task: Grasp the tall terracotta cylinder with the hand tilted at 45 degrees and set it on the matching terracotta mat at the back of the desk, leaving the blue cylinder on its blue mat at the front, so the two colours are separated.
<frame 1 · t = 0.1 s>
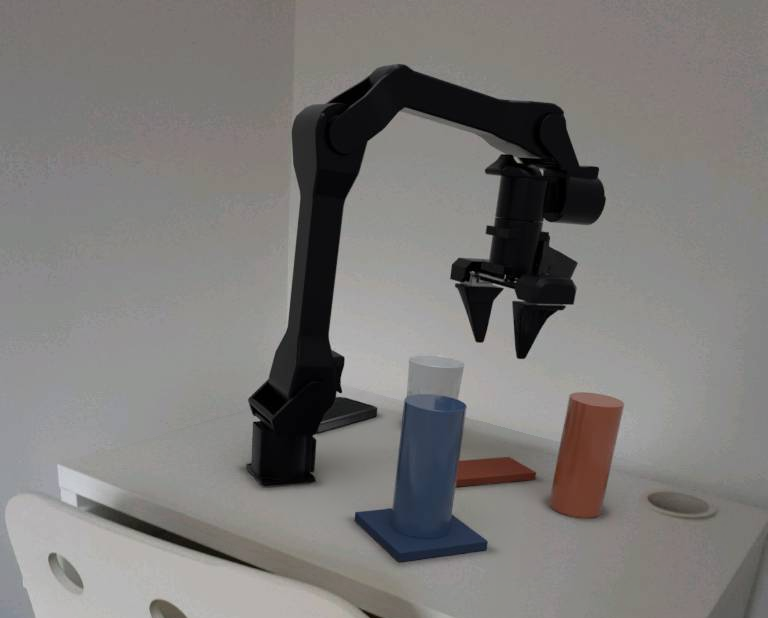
hand: (499, 350, 102), 15 cm above the table, tool pointing down, fingers open, 9 cm apart
blue mat: (419, 535, 83), on the table
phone: (327, 418, 118), on the table
terracotta mat: (482, 474, 102), on the table
terracotta cylinder: (574, 507, 94), on the table
blue cylinder: (420, 526, 82), point 1 cm above the table, touching blue mat
white cup: (428, 429, 119), on the table
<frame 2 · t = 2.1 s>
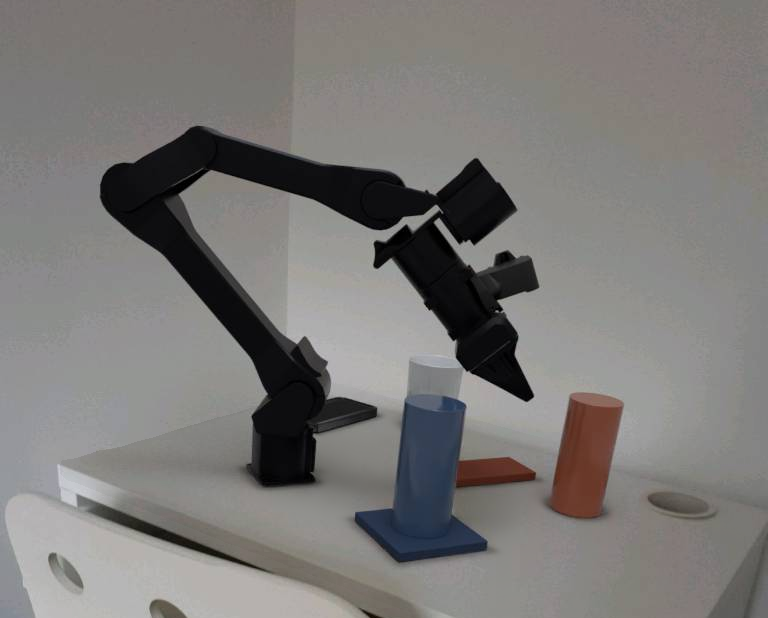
hand: (525, 388, 89), 13 cm above the table, tool tilted 45°, fingers open, 9 cm apart
nothing on the table moved.
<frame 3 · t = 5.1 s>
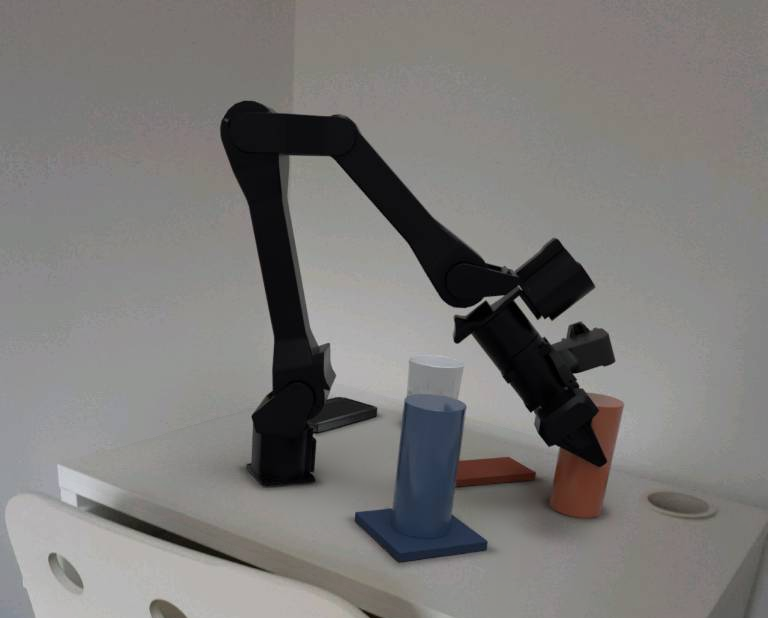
hand: (597, 455, 92), 7 cm above the table, tool tilted 45°, fingers closed on terracotta cylinder, 6 cm apart
terracotta cylinder: (575, 507, 94), on the table, touching gripper
everything else where it was.
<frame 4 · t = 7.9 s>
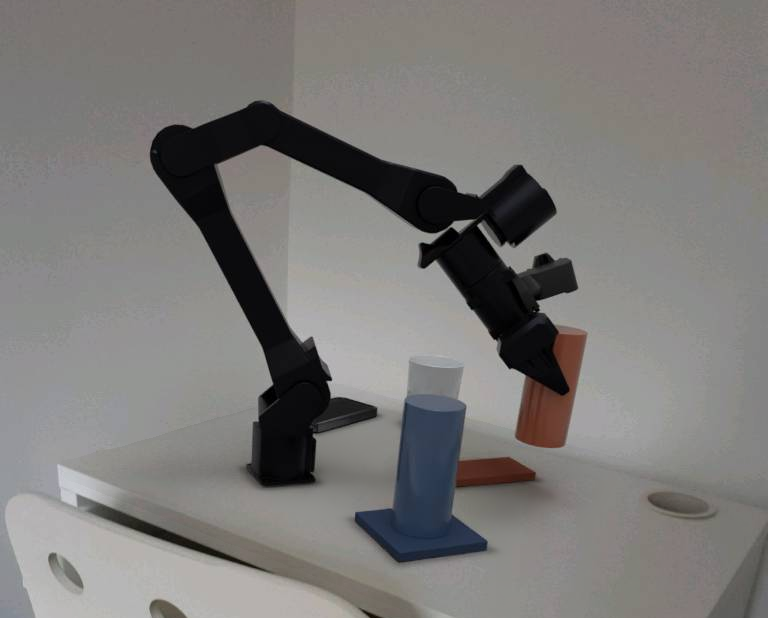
hand: (562, 386, 93), 13 cm above the table, tool tilted 45°, fingers closed on terracotta cylinder, 6 cm apart
terracotta cylinder: (539, 439, 95), point 7 cm above the table, touching gripper
everything else where it was.
when the fingers open (8 cm above the table, at t = 11.1 s): terracotta cylinder stays where it is, resting on terracotta mat.
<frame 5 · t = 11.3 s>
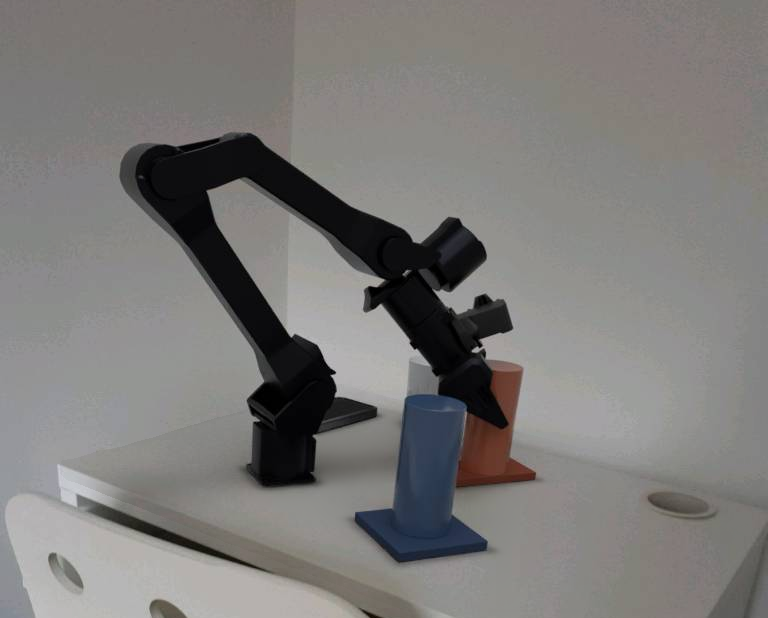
hand: (502, 418, 99), 8 cm above the table, tool tilted 45°, fingers open, 7 cm apart
terracotta cylinder: (483, 467, 101), point 1 cm above the table, touching terracotta mat
everything else where it was.
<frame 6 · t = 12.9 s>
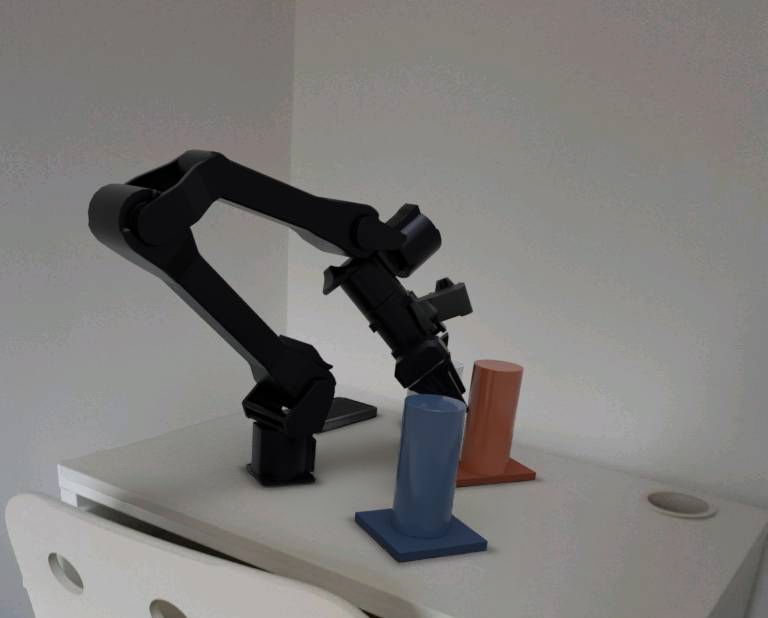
hand: (464, 402, 98), 9 cm above the table, tool tilted 45°, fingers open, 9 cm apart
nothing on the table moved.
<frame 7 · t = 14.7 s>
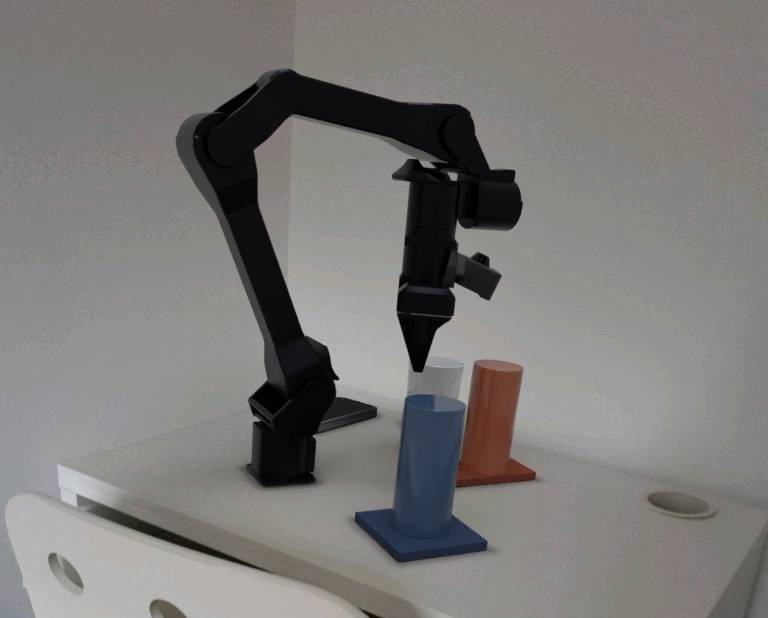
hand: (417, 363, 97), 13 cm above the table, tool pointing down, fingers open, 9 cm apart
nothing on the table moved.
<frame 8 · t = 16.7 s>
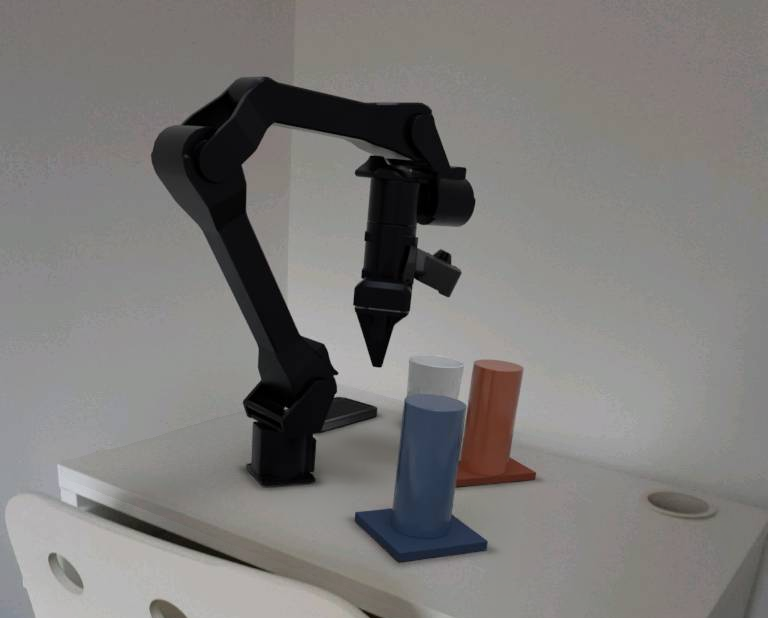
hand: (379, 358, 98), 13 cm above the table, tool pointing down, fingers open, 9 cm apart
nothing on the table moved.
at the end: terracotta cylinder inside the target area on the terracotta mat (0.1 cm from its centre), point 1.0 cm above the terracotta mat's base; terracotta cylinder tilted 0°; blue cylinder moved 0.0 cm from its start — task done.
